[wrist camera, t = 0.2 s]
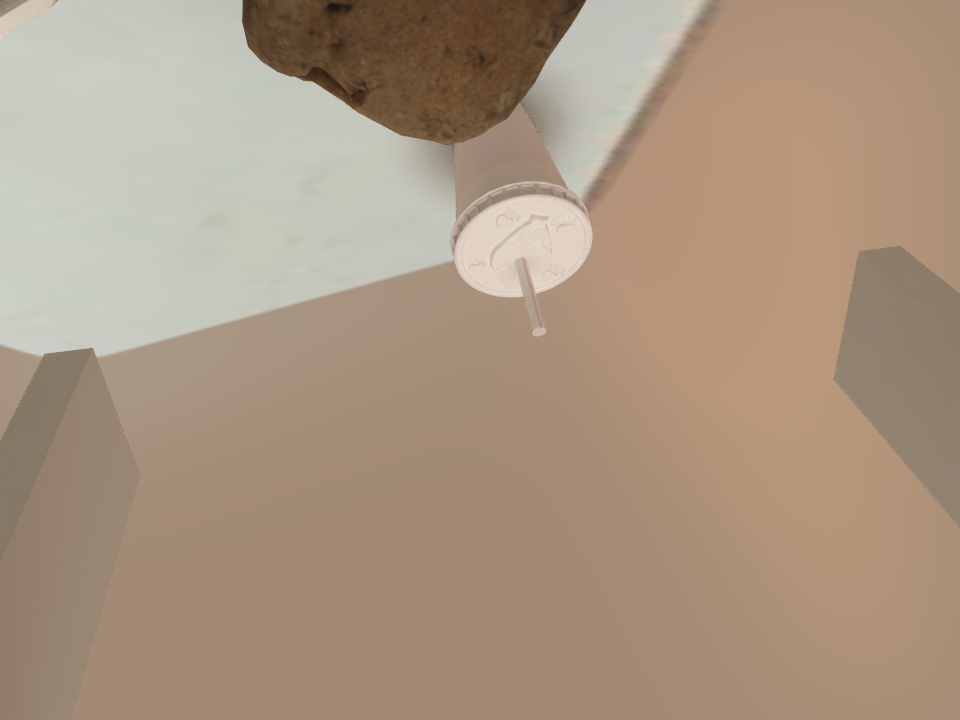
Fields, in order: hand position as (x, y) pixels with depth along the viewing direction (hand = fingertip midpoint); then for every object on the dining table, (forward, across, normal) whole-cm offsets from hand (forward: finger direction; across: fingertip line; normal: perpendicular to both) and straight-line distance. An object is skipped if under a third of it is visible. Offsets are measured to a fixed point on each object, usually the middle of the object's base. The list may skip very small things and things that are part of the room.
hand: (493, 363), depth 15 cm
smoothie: (+31, +4, -6) cm, 32 cm away
